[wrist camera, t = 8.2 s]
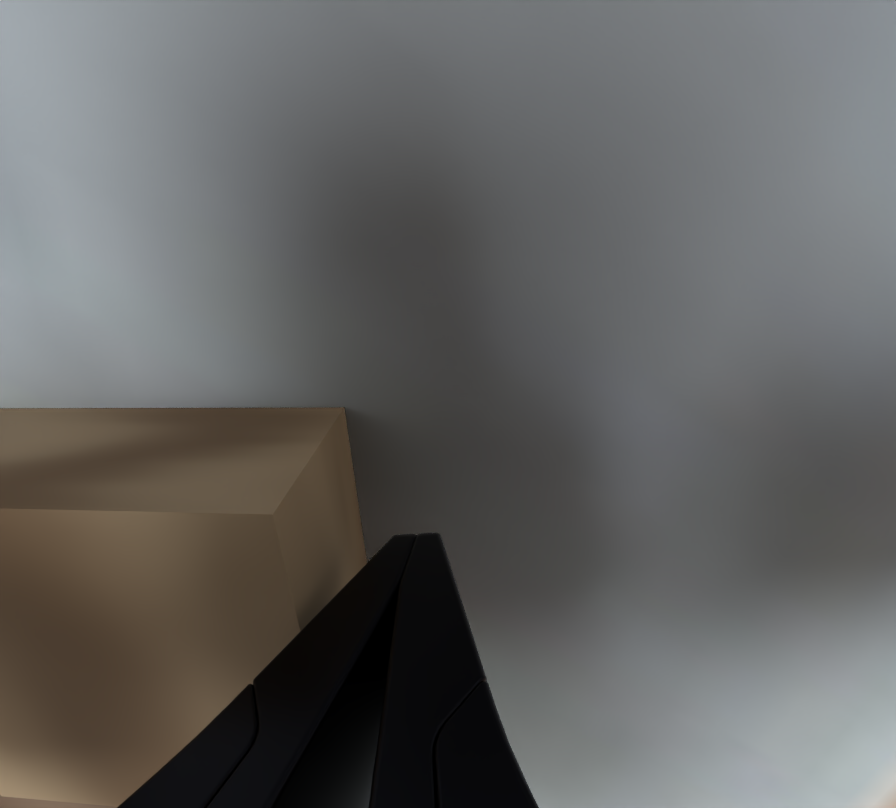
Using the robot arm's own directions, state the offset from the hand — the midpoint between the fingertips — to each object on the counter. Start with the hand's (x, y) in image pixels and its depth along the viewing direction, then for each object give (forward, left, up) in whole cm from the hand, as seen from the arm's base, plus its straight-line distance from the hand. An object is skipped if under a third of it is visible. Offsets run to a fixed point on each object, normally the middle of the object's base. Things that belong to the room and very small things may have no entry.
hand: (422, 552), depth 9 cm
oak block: (+5, +1, -2) cm, 5 cm away
